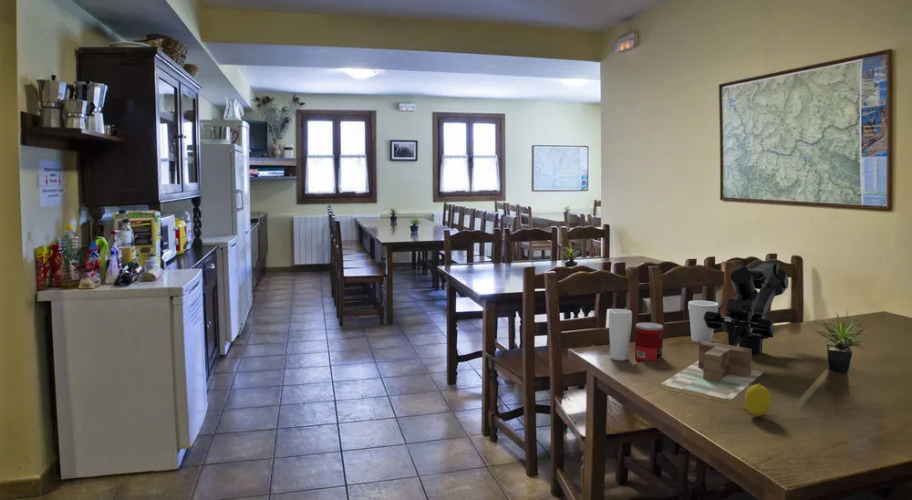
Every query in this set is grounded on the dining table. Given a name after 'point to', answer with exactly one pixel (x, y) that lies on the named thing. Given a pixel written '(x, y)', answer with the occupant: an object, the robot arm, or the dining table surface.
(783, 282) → the robot arm
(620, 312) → the light grey tumbler
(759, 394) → the lemon
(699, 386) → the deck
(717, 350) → the t block
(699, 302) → the foam cup
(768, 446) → the dining table surface
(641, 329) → the canned food
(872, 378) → the dining table surface
